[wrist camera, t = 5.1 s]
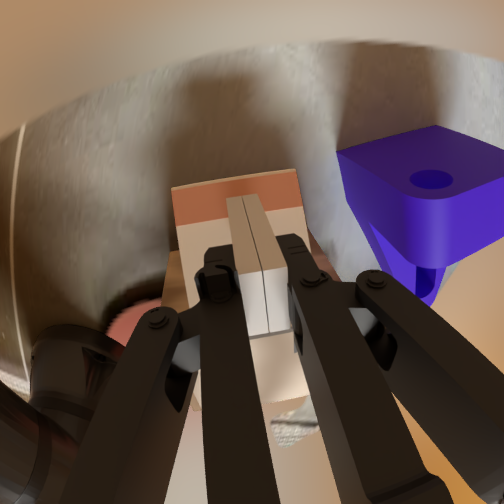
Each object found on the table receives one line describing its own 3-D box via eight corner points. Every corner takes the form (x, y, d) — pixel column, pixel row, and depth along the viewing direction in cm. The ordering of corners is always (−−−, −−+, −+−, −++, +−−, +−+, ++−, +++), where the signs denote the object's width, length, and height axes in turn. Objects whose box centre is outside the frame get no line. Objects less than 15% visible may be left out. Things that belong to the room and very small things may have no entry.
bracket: (335, 151, 23) (423, 208, 13) (435, 124, 22) (534, 164, 12) (361, 307, 32) (408, 389, 22) (438, 273, 32) (495, 337, 22)
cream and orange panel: (195, 328, 17) (194, 332, 16) (173, 191, 17) (170, 187, 16) (316, 307, 17) (319, 309, 16) (292, 172, 17) (295, 168, 17)
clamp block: (193, 326, 30) (194, 420, 21) (170, 251, 25) (155, 348, 16) (308, 306, 31) (344, 392, 21) (308, 228, 26) (360, 312, 17)
